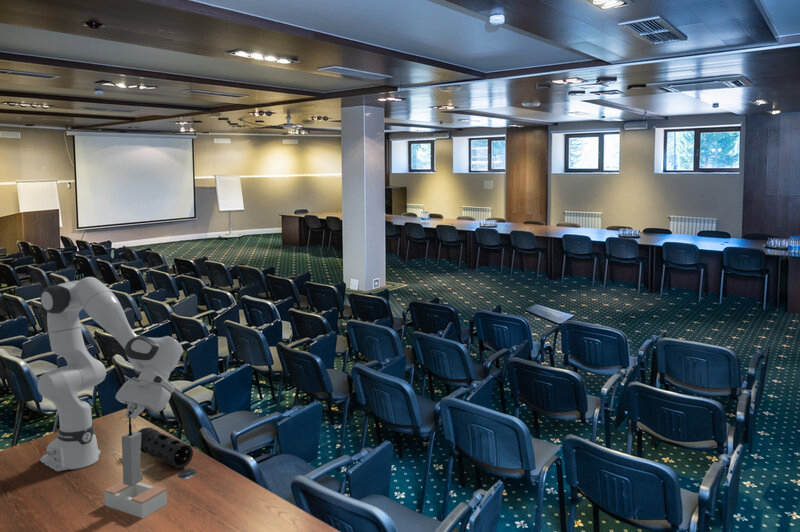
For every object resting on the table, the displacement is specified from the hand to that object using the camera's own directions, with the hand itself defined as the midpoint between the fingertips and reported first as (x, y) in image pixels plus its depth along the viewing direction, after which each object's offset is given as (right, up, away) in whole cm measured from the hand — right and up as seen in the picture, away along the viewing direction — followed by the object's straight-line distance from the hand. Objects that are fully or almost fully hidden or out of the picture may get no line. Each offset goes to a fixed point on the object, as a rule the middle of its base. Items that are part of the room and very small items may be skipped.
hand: (129, 417), depth 204 cm
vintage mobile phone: (0, -23, +3) cm, 23 cm away
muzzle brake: (-4, -27, +39) cm, 47 cm away
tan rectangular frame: (0, -31, +5) cm, 31 cm away
